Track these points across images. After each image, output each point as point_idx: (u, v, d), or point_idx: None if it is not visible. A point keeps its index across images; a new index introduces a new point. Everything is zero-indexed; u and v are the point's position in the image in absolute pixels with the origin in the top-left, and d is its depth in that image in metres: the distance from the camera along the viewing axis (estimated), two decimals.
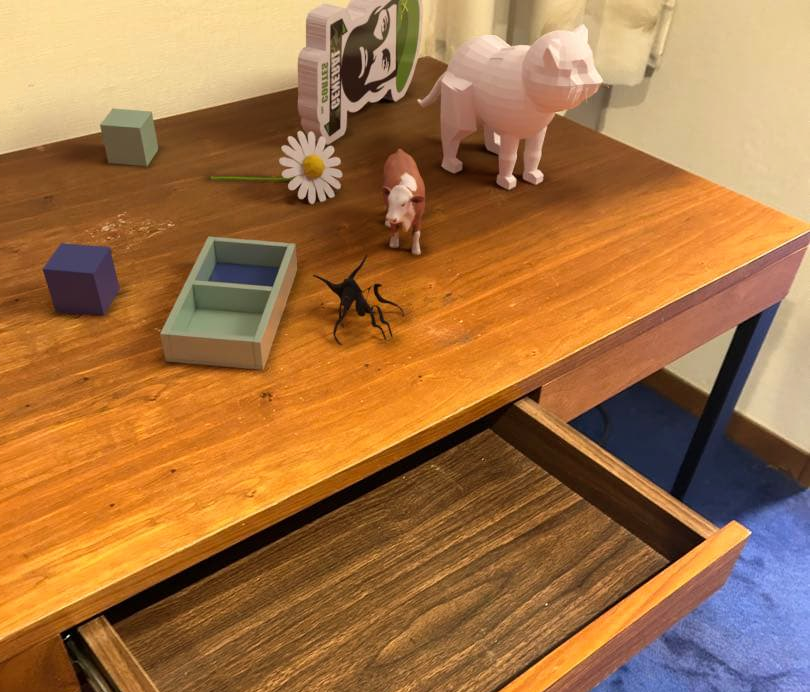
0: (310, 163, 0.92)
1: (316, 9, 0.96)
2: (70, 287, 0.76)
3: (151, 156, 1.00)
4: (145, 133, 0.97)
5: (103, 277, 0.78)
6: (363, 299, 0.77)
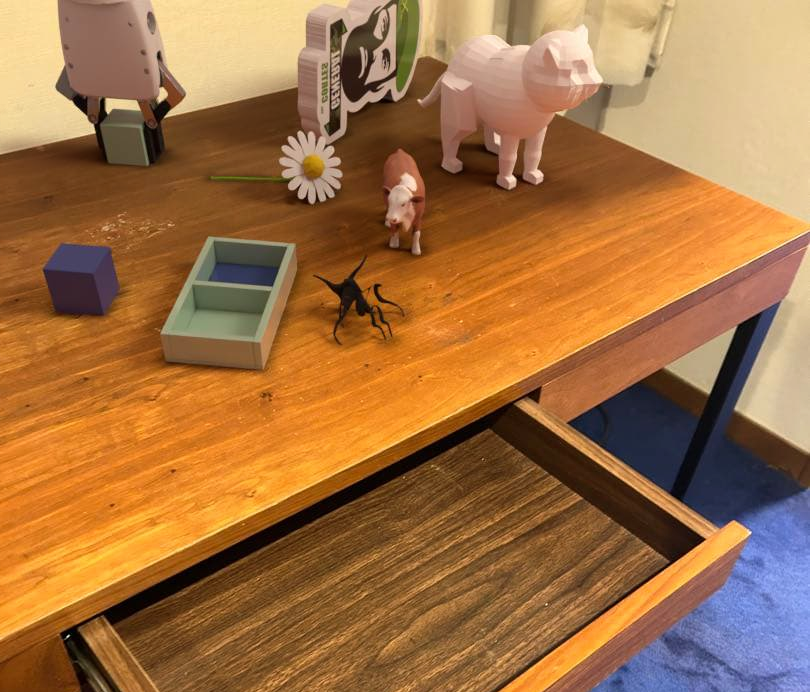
0: (310, 163, 0.92)
1: (316, 9, 0.96)
2: (70, 287, 0.76)
3: None
4: None
5: (103, 277, 0.78)
6: (363, 299, 0.77)
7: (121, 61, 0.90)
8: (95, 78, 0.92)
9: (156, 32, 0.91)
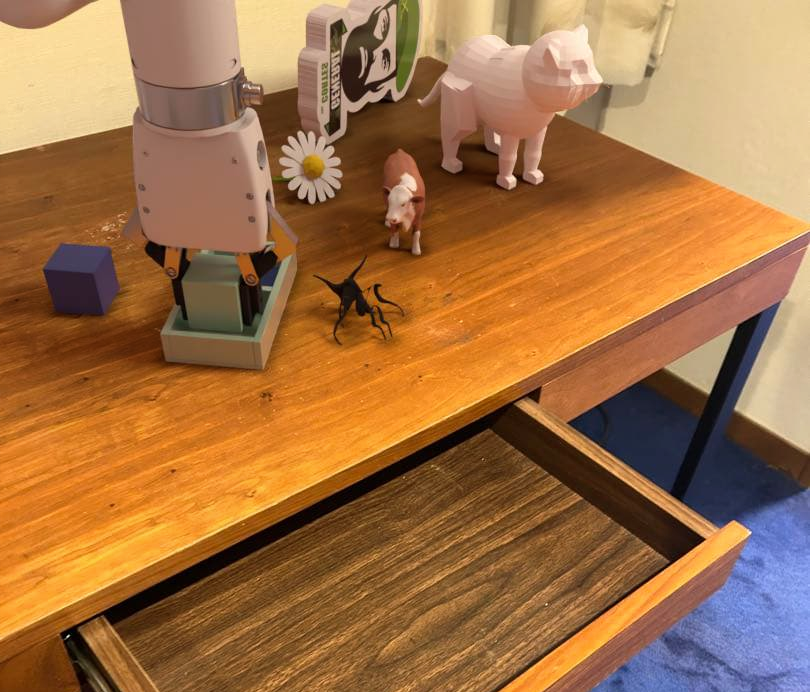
0: (310, 163, 0.92)
1: (316, 9, 0.96)
2: (70, 287, 0.76)
3: None
4: None
5: (103, 277, 0.78)
6: (363, 299, 0.77)
7: (218, 206, 0.65)
8: (179, 226, 0.67)
9: (266, 166, 0.66)
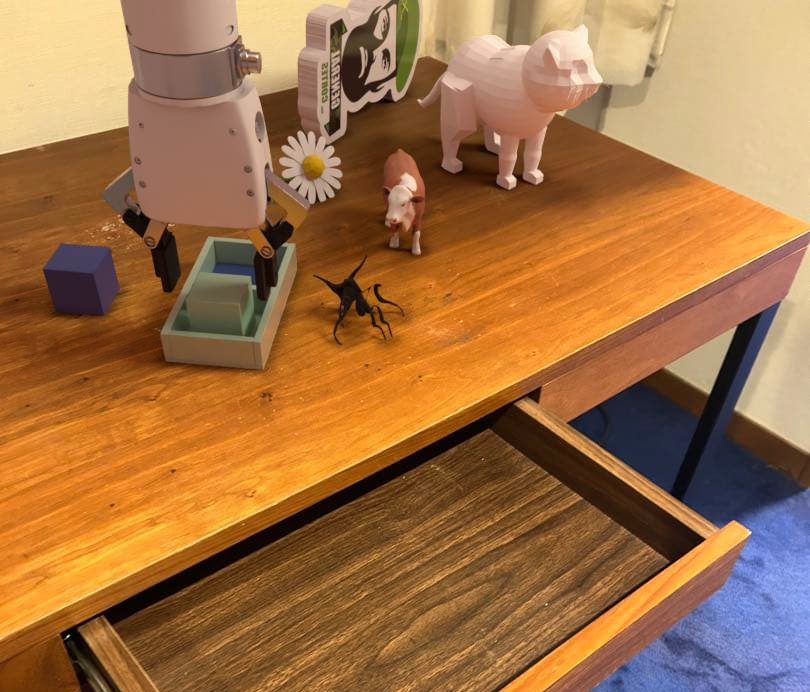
0: (310, 163, 0.92)
1: (316, 9, 0.96)
2: (70, 287, 0.76)
3: (248, 332, 0.76)
4: (244, 307, 0.73)
5: (103, 277, 0.78)
6: (363, 299, 0.77)
7: (216, 180, 0.64)
8: (176, 201, 0.65)
9: (264, 138, 0.64)
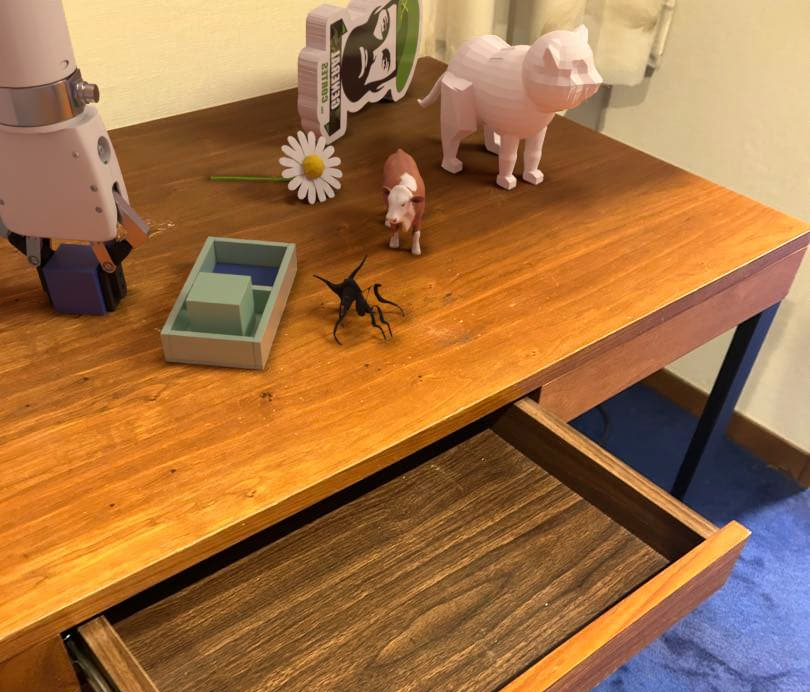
0: (310, 163, 0.92)
1: (316, 9, 0.96)
2: (70, 287, 0.76)
3: (248, 332, 0.76)
4: (244, 307, 0.73)
5: None
6: (363, 299, 0.77)
7: (66, 198, 0.70)
8: (33, 217, 0.72)
9: (111, 160, 0.70)
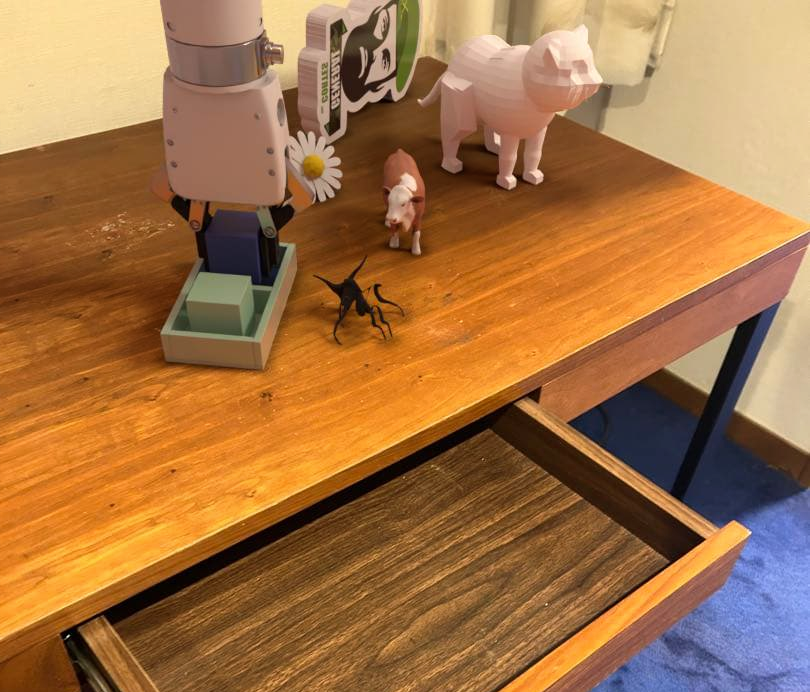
0: (310, 163, 0.92)
1: (316, 9, 0.96)
2: (229, 252, 0.77)
3: (248, 332, 0.76)
4: (244, 307, 0.73)
5: None
6: (363, 299, 0.77)
7: (241, 160, 0.70)
8: (204, 180, 0.72)
9: (285, 123, 0.71)
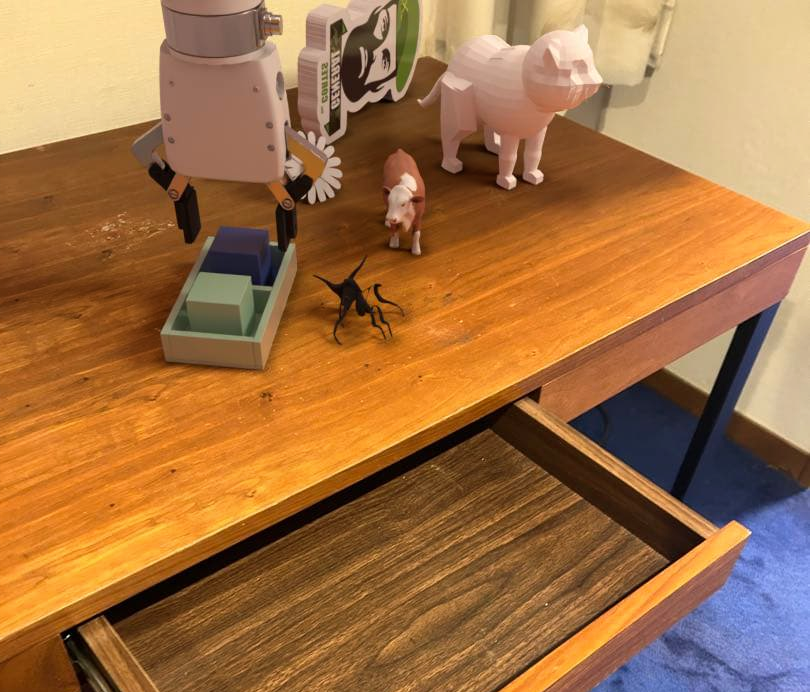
0: None
1: (316, 9, 0.96)
2: (233, 269, 0.78)
3: (248, 332, 0.76)
4: (244, 307, 0.73)
5: (263, 259, 0.79)
6: (363, 299, 0.77)
7: (239, 135, 0.69)
8: (202, 156, 0.71)
9: (284, 97, 0.69)
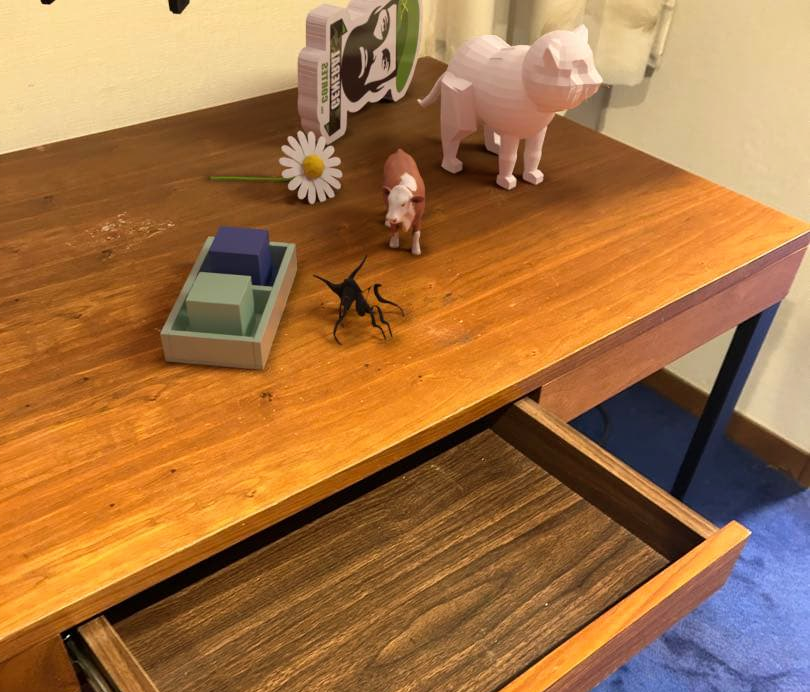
0: (310, 163, 0.92)
1: (316, 9, 0.96)
2: (233, 269, 0.78)
3: (248, 332, 0.76)
4: (244, 307, 0.73)
5: (263, 259, 0.79)
6: (363, 299, 0.77)
7: None
8: None
9: None
